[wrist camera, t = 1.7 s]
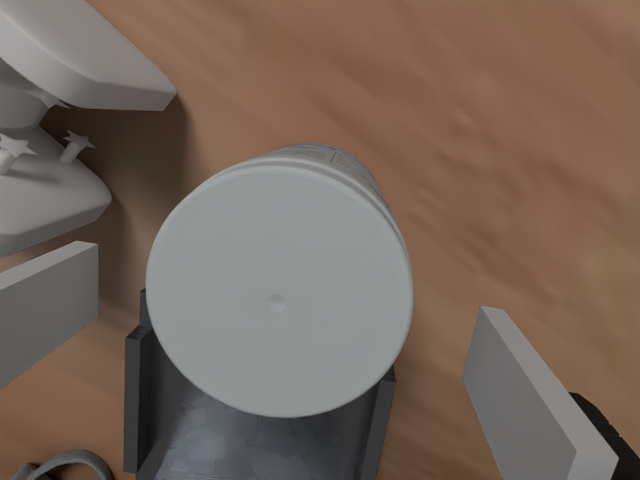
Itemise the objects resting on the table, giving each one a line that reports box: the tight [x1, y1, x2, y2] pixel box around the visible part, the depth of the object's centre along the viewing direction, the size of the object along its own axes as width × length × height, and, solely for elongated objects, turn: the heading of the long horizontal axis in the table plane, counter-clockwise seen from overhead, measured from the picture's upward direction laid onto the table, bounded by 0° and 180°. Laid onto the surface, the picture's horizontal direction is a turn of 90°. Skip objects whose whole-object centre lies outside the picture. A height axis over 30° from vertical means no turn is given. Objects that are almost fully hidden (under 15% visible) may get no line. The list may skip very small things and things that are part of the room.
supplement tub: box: [146, 143, 414, 418], centre depth 22 cm, size 10×10×15 cm
